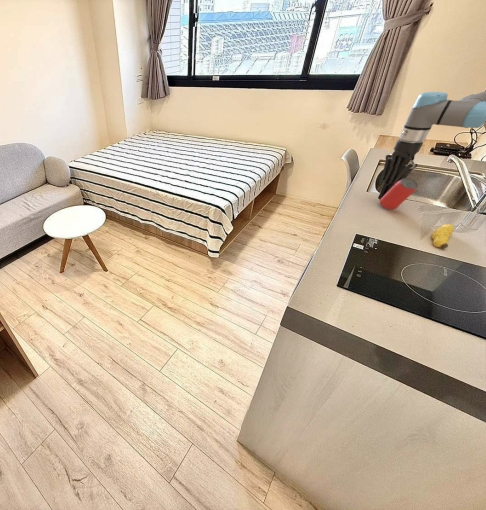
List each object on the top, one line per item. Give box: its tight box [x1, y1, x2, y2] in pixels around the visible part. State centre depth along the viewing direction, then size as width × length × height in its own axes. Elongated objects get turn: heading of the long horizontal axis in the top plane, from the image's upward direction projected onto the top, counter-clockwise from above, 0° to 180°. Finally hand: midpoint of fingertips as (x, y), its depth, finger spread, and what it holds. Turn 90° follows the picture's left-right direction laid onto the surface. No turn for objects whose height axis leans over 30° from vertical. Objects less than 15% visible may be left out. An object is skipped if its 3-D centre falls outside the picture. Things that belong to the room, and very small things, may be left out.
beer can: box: [379, 177, 419, 210], centre depth 109 cm, size 7×7×12 cm
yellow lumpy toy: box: [431, 223, 455, 249], centre depth 94 cm, size 15×5×4 cm, turn 131°
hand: (382, 198), depth 116 cm, fingers closed
